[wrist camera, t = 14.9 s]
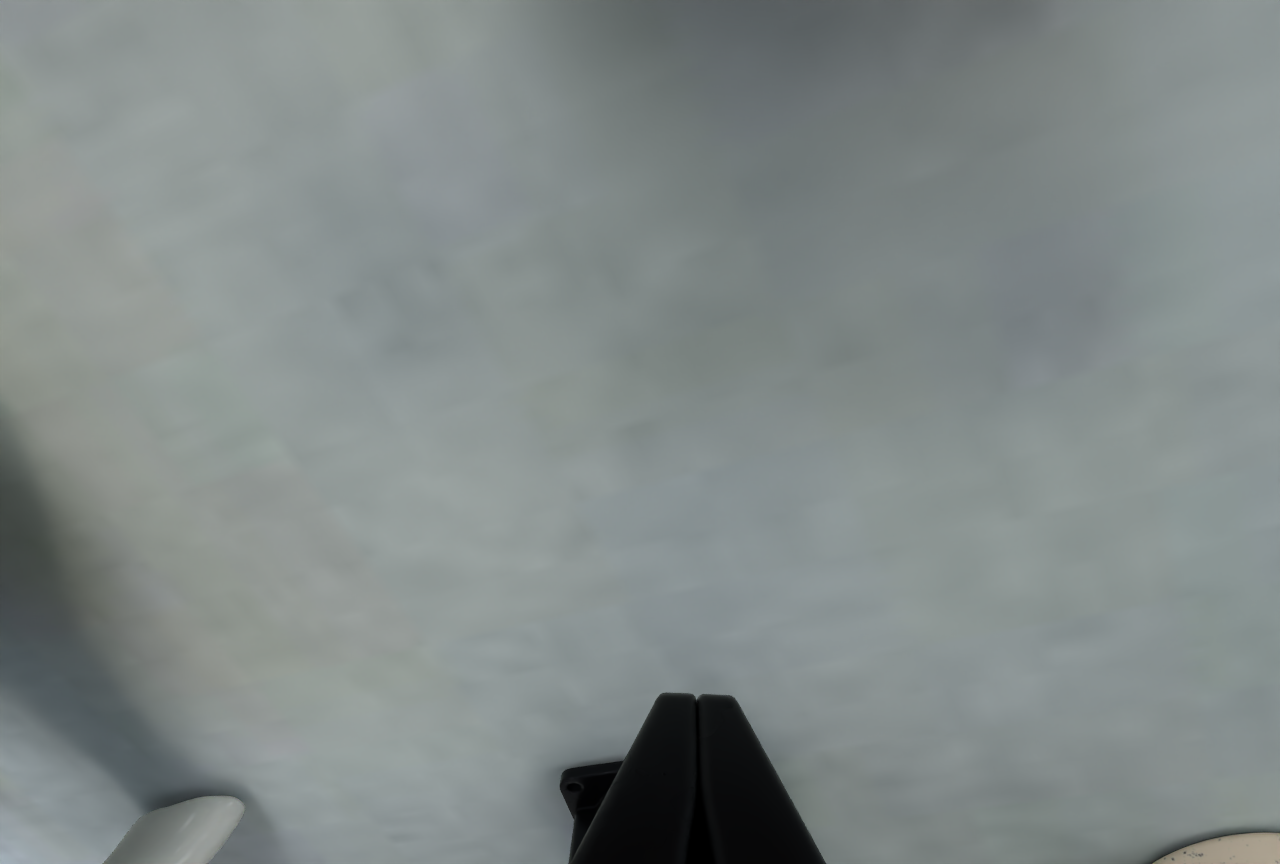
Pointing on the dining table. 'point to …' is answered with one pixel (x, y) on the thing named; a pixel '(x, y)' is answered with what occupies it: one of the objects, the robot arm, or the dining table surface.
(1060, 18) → the dining table surface
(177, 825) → the spoon rest
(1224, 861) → the teacup with lid
